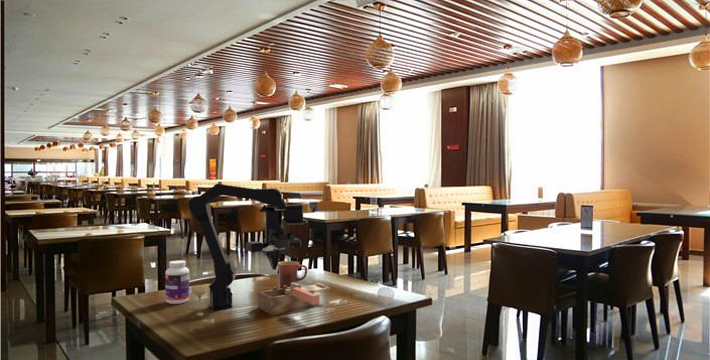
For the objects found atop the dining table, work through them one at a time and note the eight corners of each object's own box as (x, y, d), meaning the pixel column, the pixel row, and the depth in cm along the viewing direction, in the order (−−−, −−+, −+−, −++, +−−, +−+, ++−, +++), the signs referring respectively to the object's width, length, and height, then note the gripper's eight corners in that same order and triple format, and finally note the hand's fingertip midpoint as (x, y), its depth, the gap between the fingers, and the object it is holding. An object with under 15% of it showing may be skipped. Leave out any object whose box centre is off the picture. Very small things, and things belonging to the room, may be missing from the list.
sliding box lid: (294, 296, 162) (294, 286, 162) (284, 291, 168) (284, 282, 168) (330, 290, 170) (330, 281, 170) (319, 286, 176) (319, 277, 176)
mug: (274, 291, 187) (274, 265, 187) (280, 286, 196) (280, 260, 195) (305, 292, 186) (304, 265, 186) (309, 286, 194) (309, 261, 194)
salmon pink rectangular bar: (312, 304, 147) (312, 296, 147) (291, 295, 159) (291, 287, 159) (319, 303, 149) (319, 294, 149) (298, 294, 160) (297, 286, 160)
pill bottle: (160, 303, 171) (160, 262, 171) (178, 297, 178) (177, 259, 178) (176, 305, 167) (176, 264, 167) (194, 300, 175) (193, 260, 174)
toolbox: (271, 315, 156) (270, 295, 156) (258, 308, 164) (258, 289, 164) (313, 306, 165) (313, 288, 165) (299, 300, 173) (299, 283, 173)
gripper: (258, 228, 155) (258, 277, 155) (308, 224, 166) (309, 270, 166) (244, 225, 164) (245, 271, 164) (293, 222, 175) (293, 265, 175)
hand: (274, 269), depth 167 cm, fingers closed
